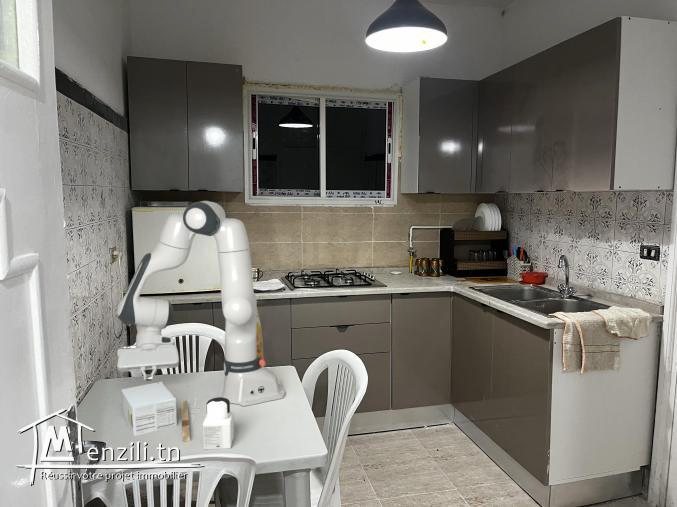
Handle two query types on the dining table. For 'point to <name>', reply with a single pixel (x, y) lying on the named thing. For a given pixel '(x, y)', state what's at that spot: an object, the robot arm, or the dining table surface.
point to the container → (218, 424)
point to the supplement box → (148, 408)
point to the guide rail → (185, 421)
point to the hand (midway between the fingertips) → (148, 380)
